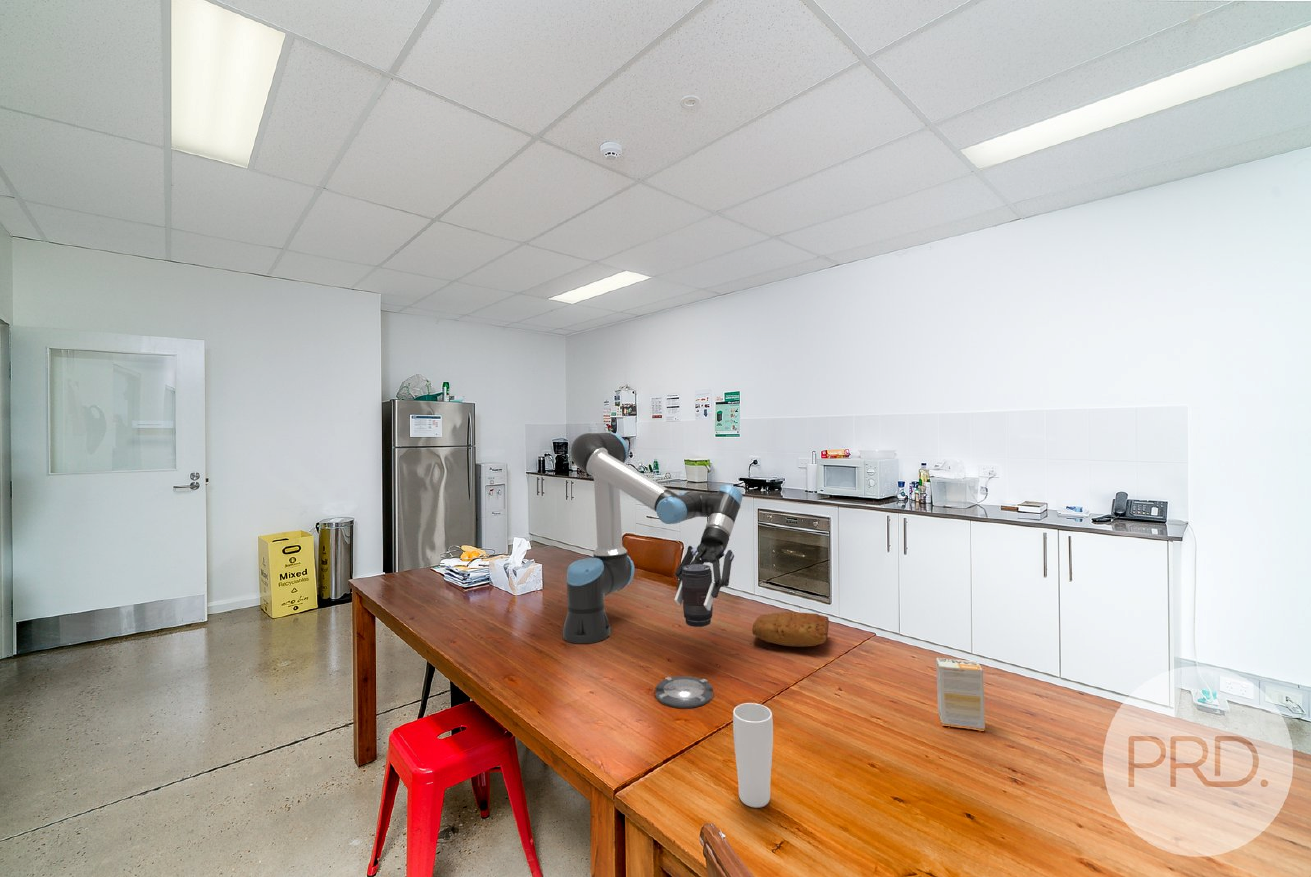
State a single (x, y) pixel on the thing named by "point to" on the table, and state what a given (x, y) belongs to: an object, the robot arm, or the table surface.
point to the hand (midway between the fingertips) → (691, 605)
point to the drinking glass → (753, 752)
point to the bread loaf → (792, 628)
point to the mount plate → (684, 692)
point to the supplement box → (960, 693)
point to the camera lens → (696, 594)
